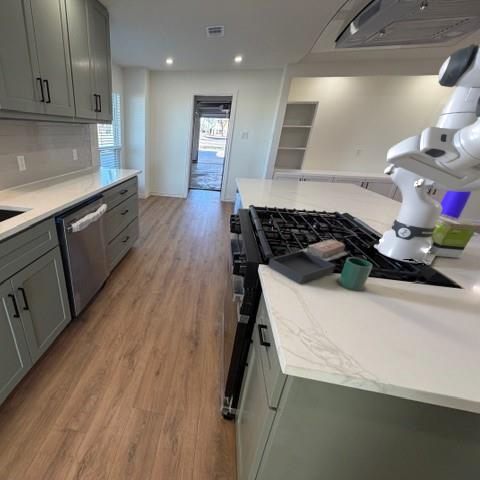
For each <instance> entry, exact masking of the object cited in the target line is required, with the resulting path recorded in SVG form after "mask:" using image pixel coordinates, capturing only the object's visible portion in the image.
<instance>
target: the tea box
mask: <svg viewBox="0 0 480 480" xmlns="http://www.w3.org/2000/svg"><path fill="white" fill-rule="evenodd" d="M435 226H436V228H435V230H434V233H433V235H432V236H431V238H432V240H433V245H432V247H431V249H430V252H431V253H433V254H435V255H436V256H435V257H443V258H457V259H458V258H460V256H461V255H462V253H463V252H464V250H465V249H466V247H467V245H468V243H470V240H471V239H472V237H473V236H474V234H475V233H476V231H477V229H478V227H479V225H477V224H474V223H471V222H469V221H465V220H461V219H459V218H458V219H456V218H453V217H450V216H447V215H444V214H440V216H439V218H438V220H437V222H436V224H435Z"/></svg>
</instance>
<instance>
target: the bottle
mask: <svg viewBox="0 0 480 480" xmlns="http://www.w3.org/2000/svg"><path fill="white" fill-rule="evenodd" d="M471 194H472V191H468V192H455V191H446V192H445V194H444V195H443V197H442V199H441V202H440V204H441V206H442V212H441V214H444V215H447V216H450V217H453V218H456V219H459V218H460V216H461V214H462V212H463V211H464V209H465V207H466V205H467V203H468V201H469V198H470V197H471Z"/></svg>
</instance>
